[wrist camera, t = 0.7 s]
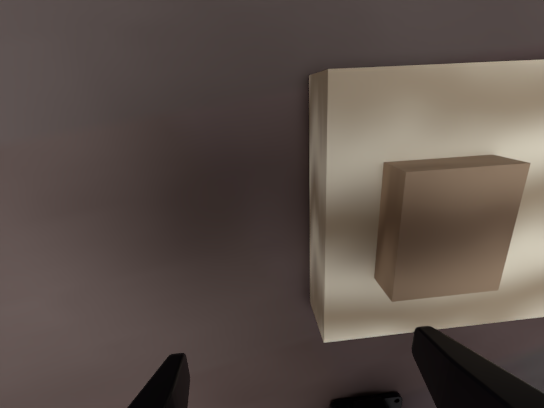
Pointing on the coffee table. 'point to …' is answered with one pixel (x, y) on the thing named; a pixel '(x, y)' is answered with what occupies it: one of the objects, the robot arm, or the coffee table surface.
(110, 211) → the coffee table surface
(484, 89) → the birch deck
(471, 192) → the walnut tile
